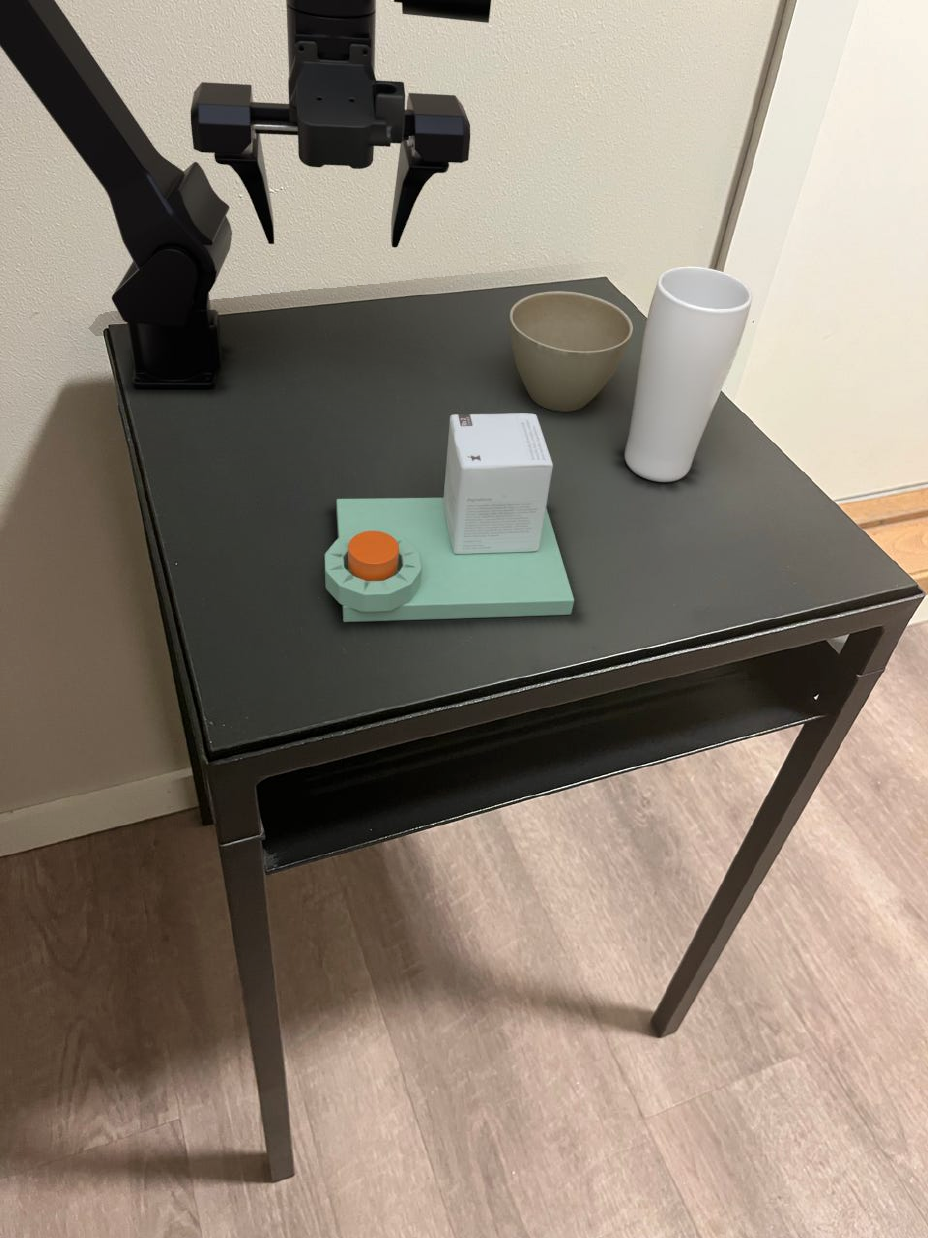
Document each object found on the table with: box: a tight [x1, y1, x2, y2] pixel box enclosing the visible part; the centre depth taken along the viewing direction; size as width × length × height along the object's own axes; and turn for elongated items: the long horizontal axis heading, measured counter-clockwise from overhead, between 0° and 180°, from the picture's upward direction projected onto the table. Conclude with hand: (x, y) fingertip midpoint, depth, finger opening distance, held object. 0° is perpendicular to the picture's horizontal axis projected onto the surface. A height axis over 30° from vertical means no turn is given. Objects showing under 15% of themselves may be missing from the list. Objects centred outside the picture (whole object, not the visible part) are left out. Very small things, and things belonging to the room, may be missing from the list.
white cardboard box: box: [442, 412, 554, 554], centre depth 65 cm, size 6×6×7 cm
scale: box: [324, 497, 575, 623], centre depth 65 cm, size 16×12×3 cm
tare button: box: [348, 531, 399, 581], centre depth 61 cm, size 3×3×2 cm
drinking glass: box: [624, 265, 753, 483], centre depth 72 cm, size 7×7×15 cm
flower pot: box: [509, 290, 634, 413], centre depth 81 cm, size 10×10×7 cm
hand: (333, 243), depth 73 cm, fingers open, 9 cm apart
